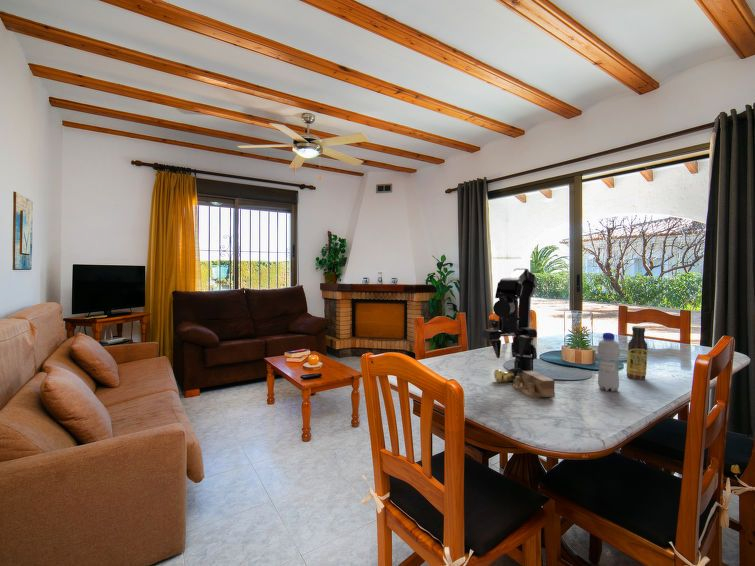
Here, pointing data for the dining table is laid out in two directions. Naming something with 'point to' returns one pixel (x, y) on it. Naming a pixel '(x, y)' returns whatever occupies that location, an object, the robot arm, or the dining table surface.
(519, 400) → the dining table surface
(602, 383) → the bottle
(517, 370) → the keeper
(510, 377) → the brass bolt
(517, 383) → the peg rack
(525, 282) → the robot arm
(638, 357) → the sauce bottle
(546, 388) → the walnut bar
